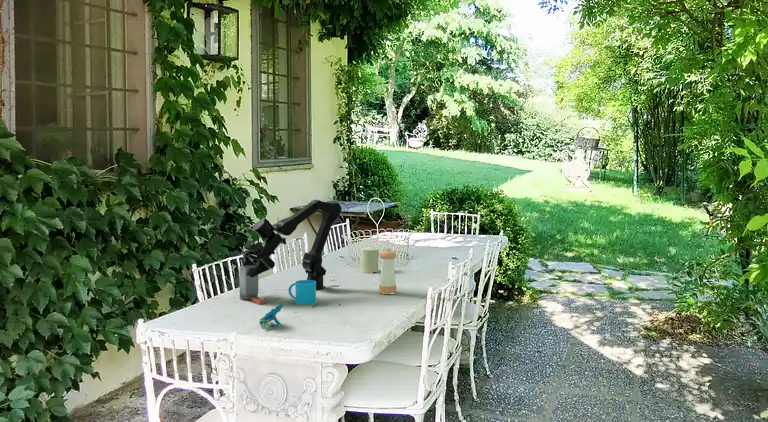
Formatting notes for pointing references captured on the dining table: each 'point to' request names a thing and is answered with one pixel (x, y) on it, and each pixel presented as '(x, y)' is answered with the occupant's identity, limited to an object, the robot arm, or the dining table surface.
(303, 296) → the mug
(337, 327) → the dining table surface
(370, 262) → the can
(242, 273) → the grey blue box
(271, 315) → the teal plastic angular piece
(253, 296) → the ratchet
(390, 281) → the salt shaker
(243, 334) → the dining table surface
